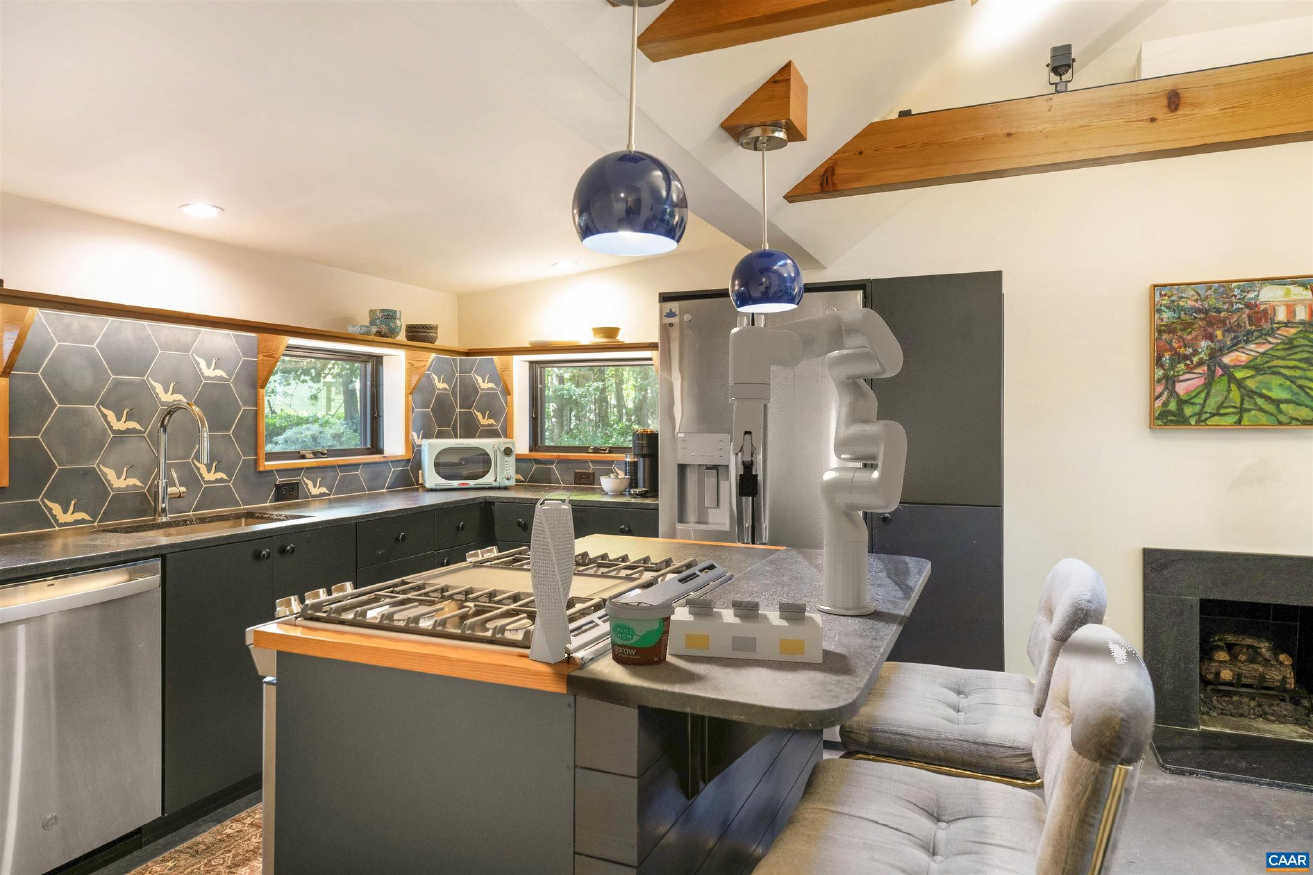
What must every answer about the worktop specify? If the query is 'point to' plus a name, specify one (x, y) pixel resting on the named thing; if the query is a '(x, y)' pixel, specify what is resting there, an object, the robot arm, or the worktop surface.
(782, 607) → the switch
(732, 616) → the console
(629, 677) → the worktop surface
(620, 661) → the food container
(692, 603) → the switch
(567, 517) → the skyscraper
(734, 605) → the switch
